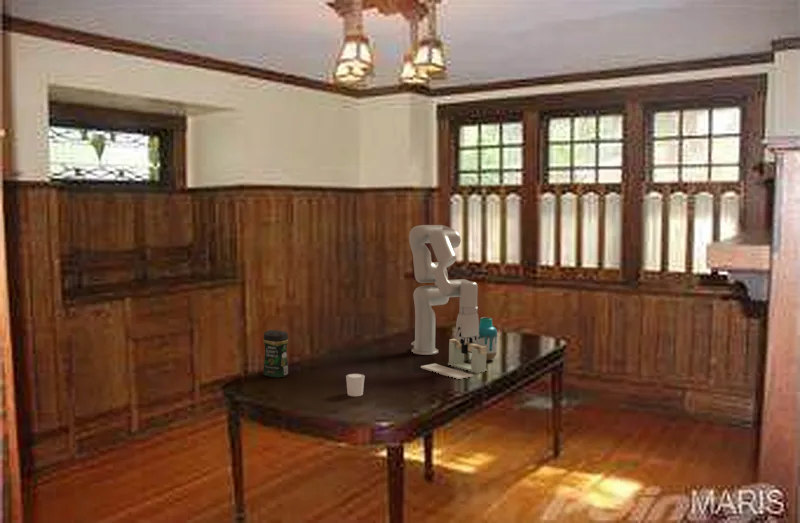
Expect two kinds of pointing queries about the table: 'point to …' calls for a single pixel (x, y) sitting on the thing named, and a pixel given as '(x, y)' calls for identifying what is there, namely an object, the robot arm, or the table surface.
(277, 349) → the coffee jar
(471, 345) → the rail
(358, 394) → the shot glass
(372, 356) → the table surface
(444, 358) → the table surface
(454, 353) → the cradle stand
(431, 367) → the felt mat
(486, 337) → the vase
